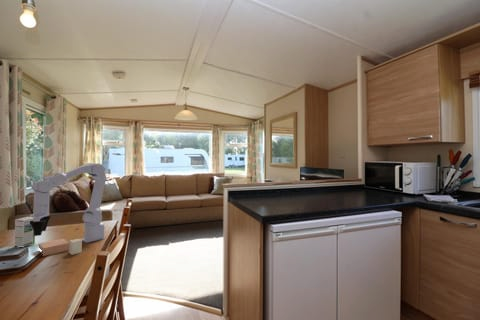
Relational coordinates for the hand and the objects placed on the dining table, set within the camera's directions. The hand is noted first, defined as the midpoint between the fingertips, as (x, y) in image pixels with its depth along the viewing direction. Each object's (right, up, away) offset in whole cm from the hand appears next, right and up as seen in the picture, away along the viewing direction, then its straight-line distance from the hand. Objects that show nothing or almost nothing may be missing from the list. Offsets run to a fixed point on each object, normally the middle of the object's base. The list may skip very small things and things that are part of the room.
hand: (40, 233), depth 108 cm
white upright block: (+15, -10, +2) cm, 19 cm away
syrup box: (-17, -10, +9) cm, 22 cm away
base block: (+3, -10, +4) cm, 12 cm away
